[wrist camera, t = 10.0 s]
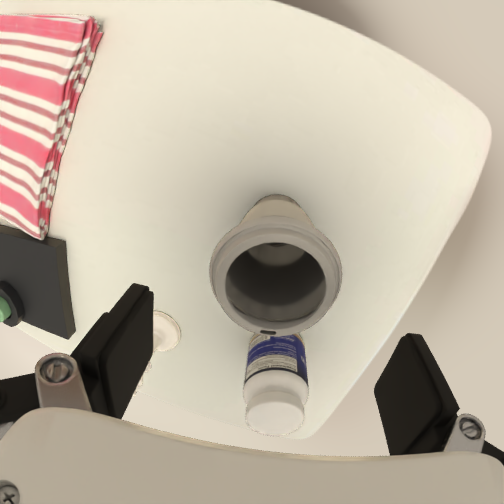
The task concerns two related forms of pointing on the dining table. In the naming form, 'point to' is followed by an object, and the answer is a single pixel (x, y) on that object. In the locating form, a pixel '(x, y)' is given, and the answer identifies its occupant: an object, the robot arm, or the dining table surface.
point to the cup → (275, 270)
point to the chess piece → (162, 337)
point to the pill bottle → (275, 384)
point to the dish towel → (38, 108)
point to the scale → (36, 281)
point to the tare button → (4, 309)
